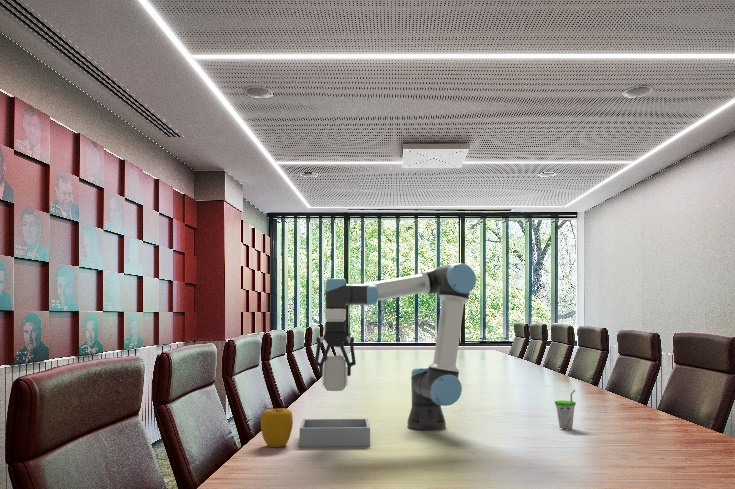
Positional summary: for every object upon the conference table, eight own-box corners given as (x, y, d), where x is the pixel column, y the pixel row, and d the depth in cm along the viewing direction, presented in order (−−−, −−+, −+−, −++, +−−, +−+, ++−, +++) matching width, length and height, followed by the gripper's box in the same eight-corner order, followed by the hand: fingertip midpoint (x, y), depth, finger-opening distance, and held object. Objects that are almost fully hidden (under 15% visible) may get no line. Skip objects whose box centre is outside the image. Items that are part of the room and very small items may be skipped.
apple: (280, 441, 217) (280, 403, 219) (299, 445, 210) (299, 407, 211) (253, 445, 210) (254, 407, 211) (272, 450, 202) (273, 410, 203)
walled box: (367, 435, 227) (367, 418, 228) (370, 445, 210) (370, 427, 210) (302, 435, 226) (302, 419, 227) (299, 446, 209) (299, 428, 209)
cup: (554, 429, 238) (553, 390, 240) (556, 426, 246) (555, 388, 247) (575, 431, 236) (574, 391, 237) (577, 427, 243) (575, 389, 244)
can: (342, 391, 216) (342, 356, 217) (321, 391, 217) (322, 356, 219) (347, 389, 223) (347, 355, 225) (327, 388, 225) (328, 355, 226)
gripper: (363, 320, 227) (363, 384, 225) (308, 320, 226) (307, 384, 224) (363, 321, 220) (363, 386, 217) (306, 321, 219) (305, 386, 216)
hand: (334, 385), depth 221 cm, fingers closed on can, 7 cm apart
